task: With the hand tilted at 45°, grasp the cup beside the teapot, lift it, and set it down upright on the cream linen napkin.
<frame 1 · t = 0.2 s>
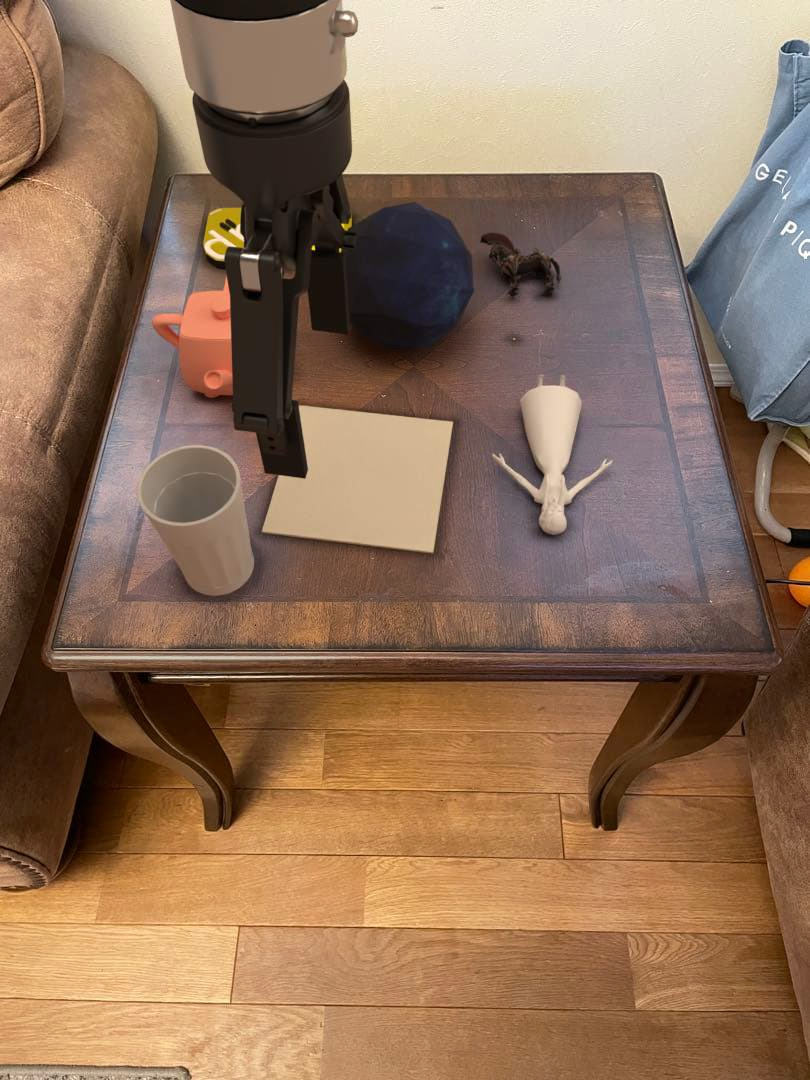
hand: (310, 395, 56), 21 cm above the table, tool pointing down, fingers open, 13 cm apart
cup: (219, 566, 72), on the table
napkin: (362, 475, 78), on the table
teapot: (233, 380, 85), on the table
decorative orb: (403, 332, 90), on the table
woman figurine: (549, 465, 79), on the table
game console: (279, 242, 99), on the table
horse figurine: (524, 296, 93), on the table
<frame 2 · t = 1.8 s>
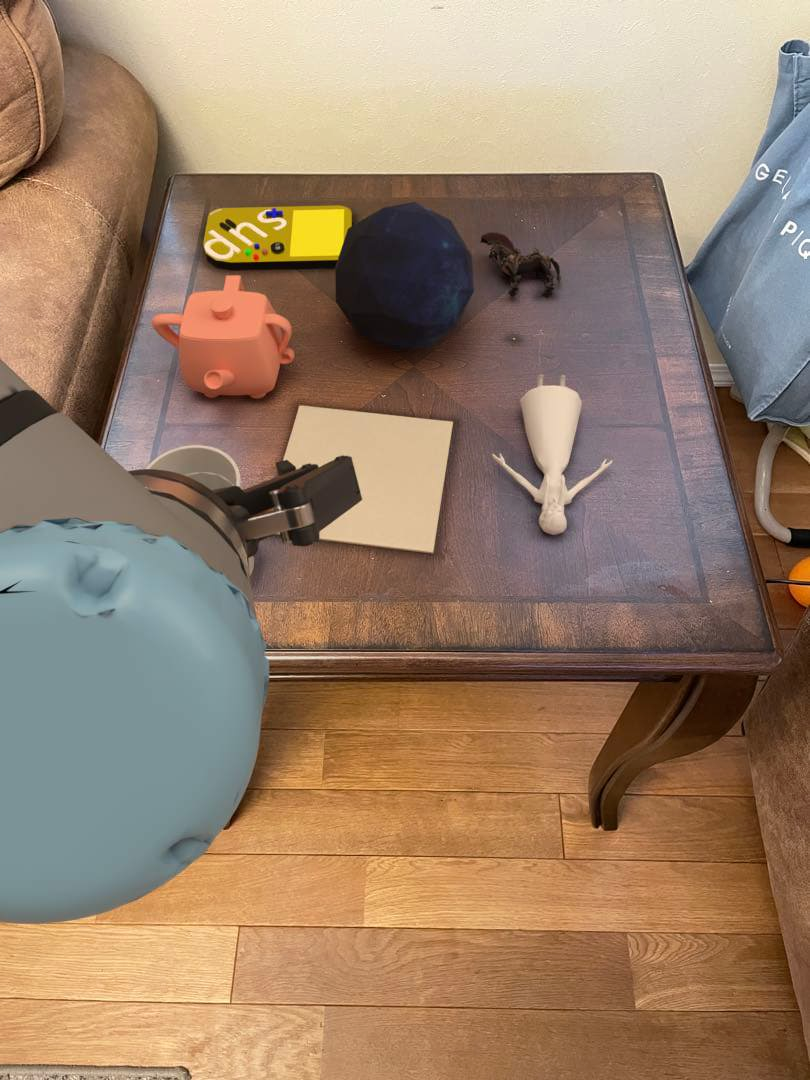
hand: (178, 510, 49), 22 cm above the table, tool tilted 45°, fingers open, 13 cm apart
nothing on the table moved.
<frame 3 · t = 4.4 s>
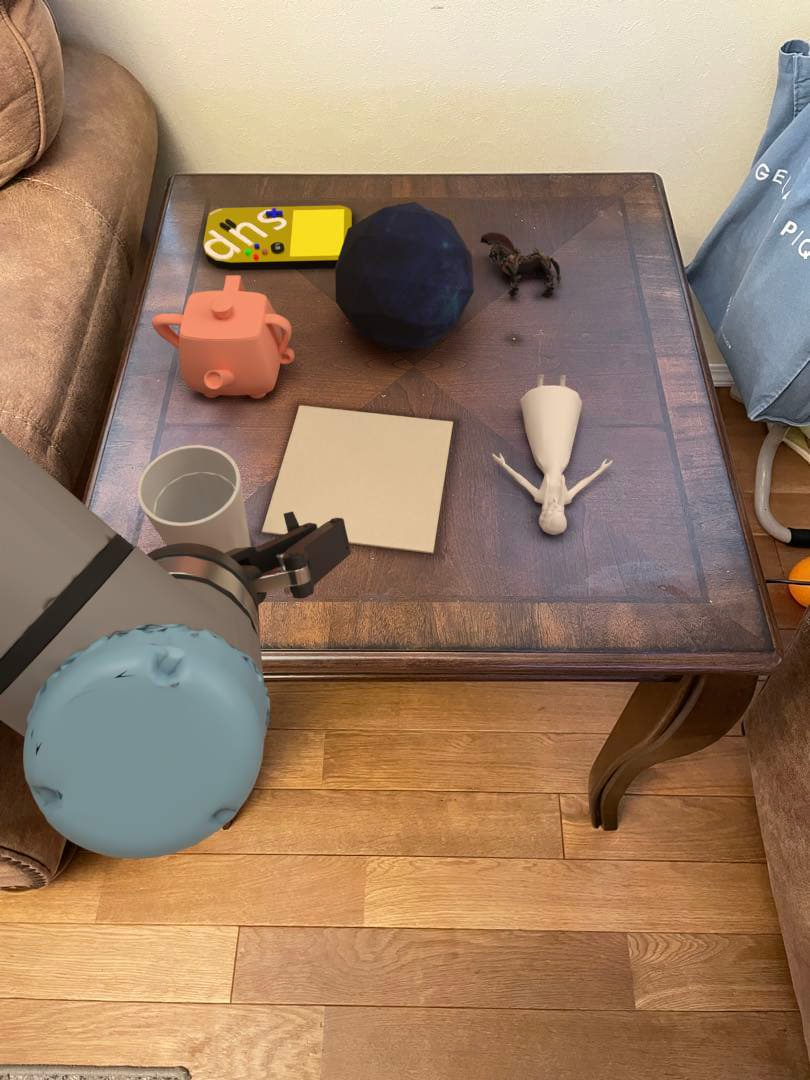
hand: (203, 550, 60), 11 cm above the table, tool tilted 45°, fingers open, 13 cm apart
nothing on the table moved.
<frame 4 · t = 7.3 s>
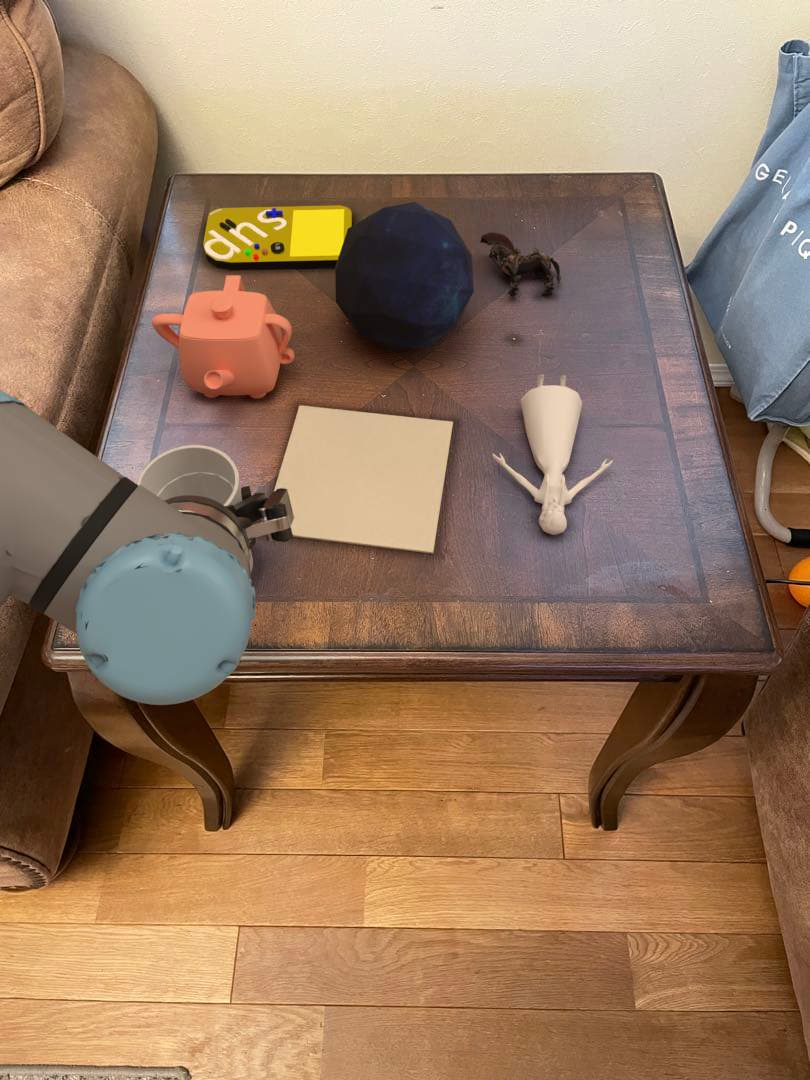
hand: (203, 511, 71), 4 cm above the table, tool tilted 45°, fingers closed on cup, 7 cm apart
cup: (218, 566, 72), on the table, touching gripper
everything else where it was.
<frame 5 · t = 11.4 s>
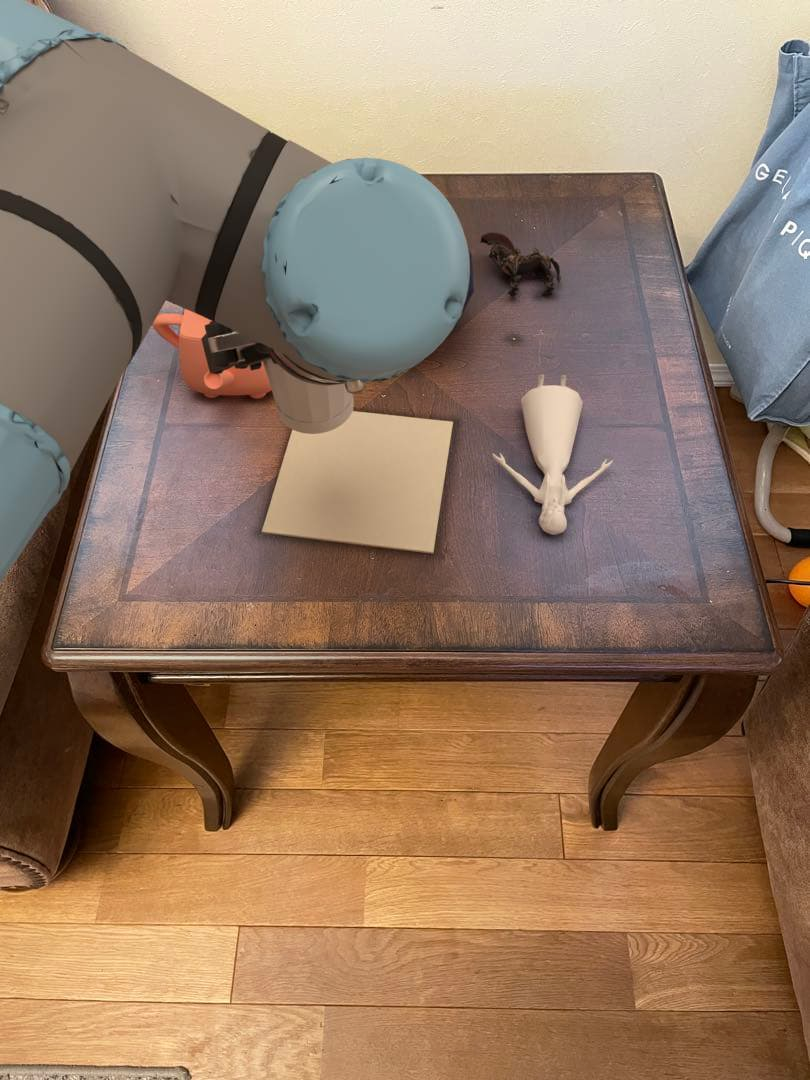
hand: (301, 342, 64), 17 cm above the table, tool tilted 45°, fingers closed on cup, 7 cm apart
cup: (315, 406, 66), point 13 cm above the table, touching gripper
everything else where it was.
when the fingers open (4 cm above the table, at t = 15.7 s): cup stays where it is, resting on napkin.
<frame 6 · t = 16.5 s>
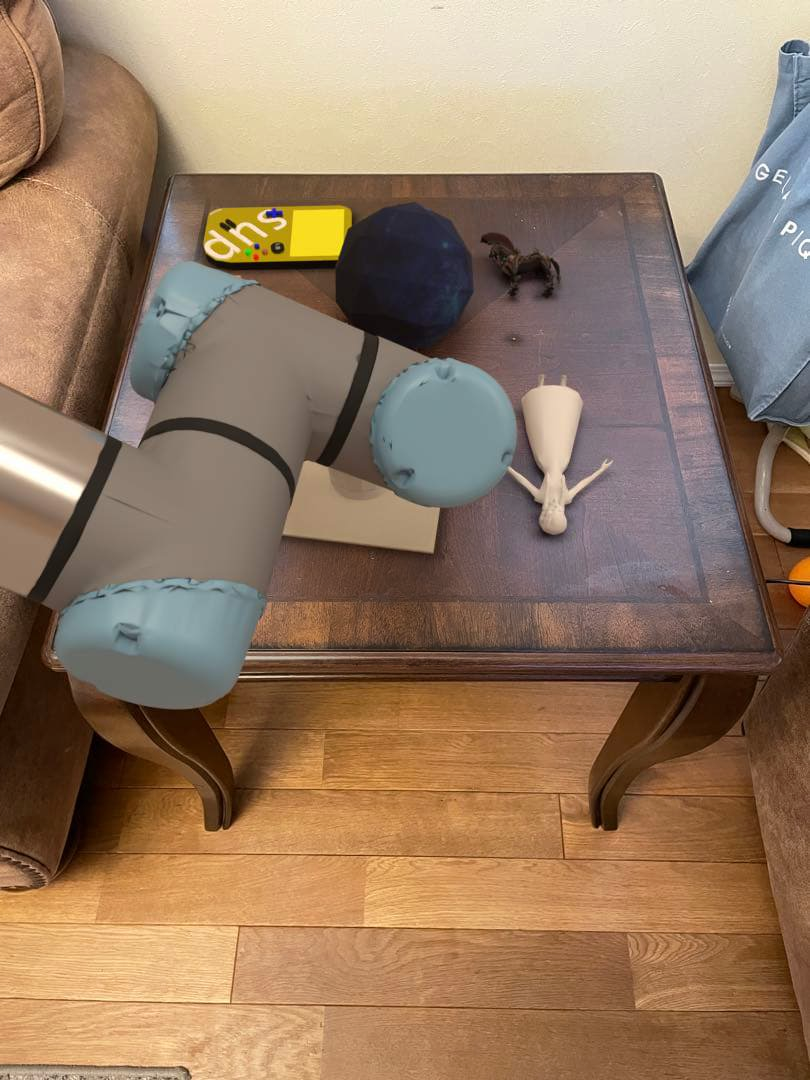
hand: (352, 419, 74), 6 cm above the table, tool tilted 45°, fingers open, 13 cm apart
cup: (362, 475, 78), resting on napkin
everything else where it was.
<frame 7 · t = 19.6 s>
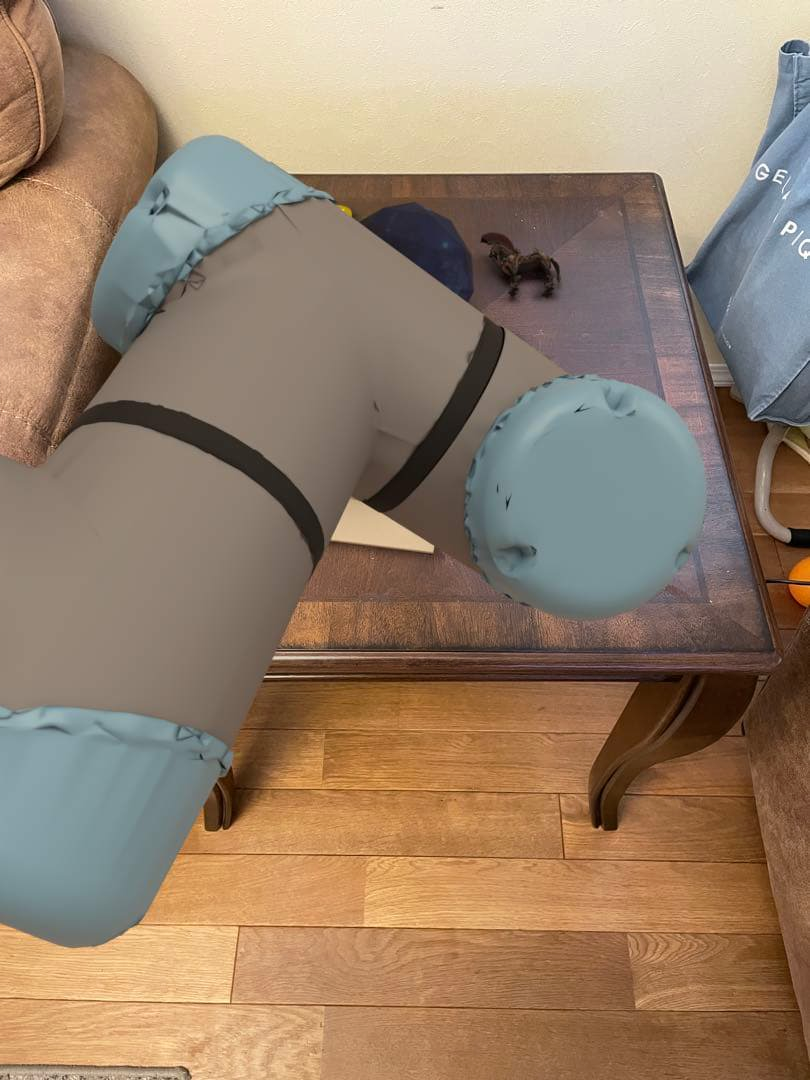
hand: (386, 447, 59), 16 cm above the table, tool tilted 45°, fingers open, 13 cm apart
nothing on the table moved.
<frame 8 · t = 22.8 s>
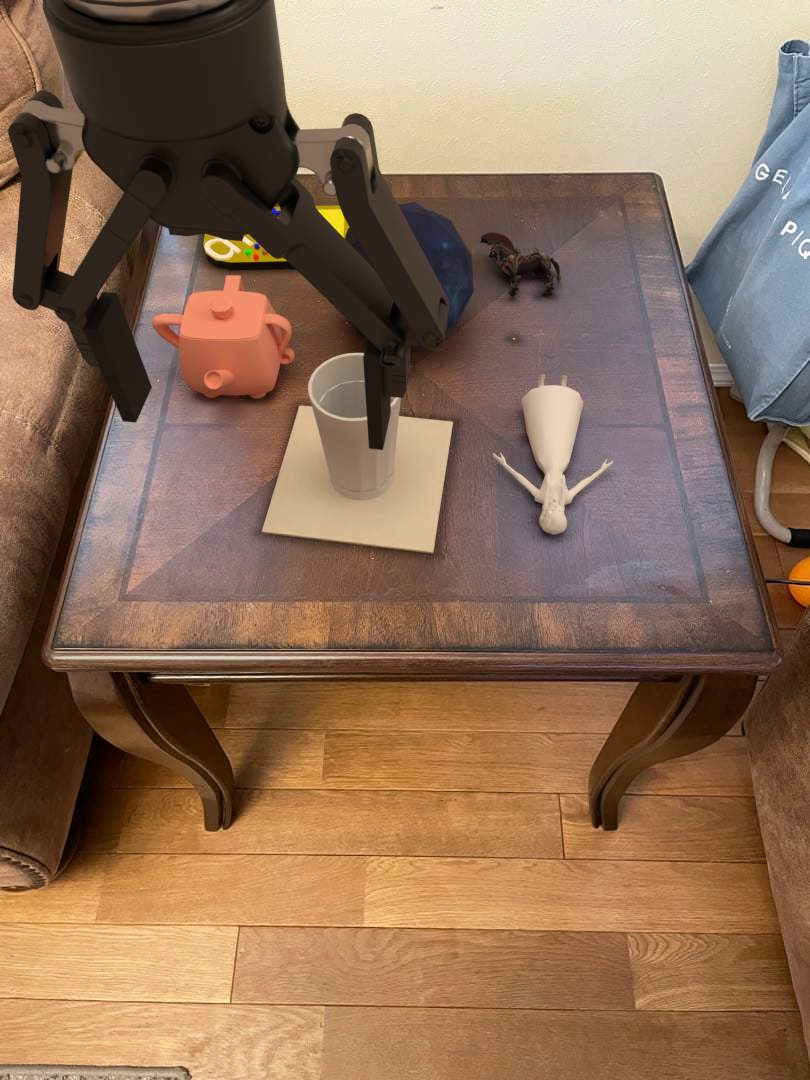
hand: (257, 417, 44), 29 cm above the table, tool pointing down, fingers open, 13 cm apart
nothing on the table moved.
at the end: cup inside the target area on the napkin (0.0 cm from its centre), point 0.1 cm above the napkin's base; cup tilted 0°; the gripper is holding nothing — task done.
